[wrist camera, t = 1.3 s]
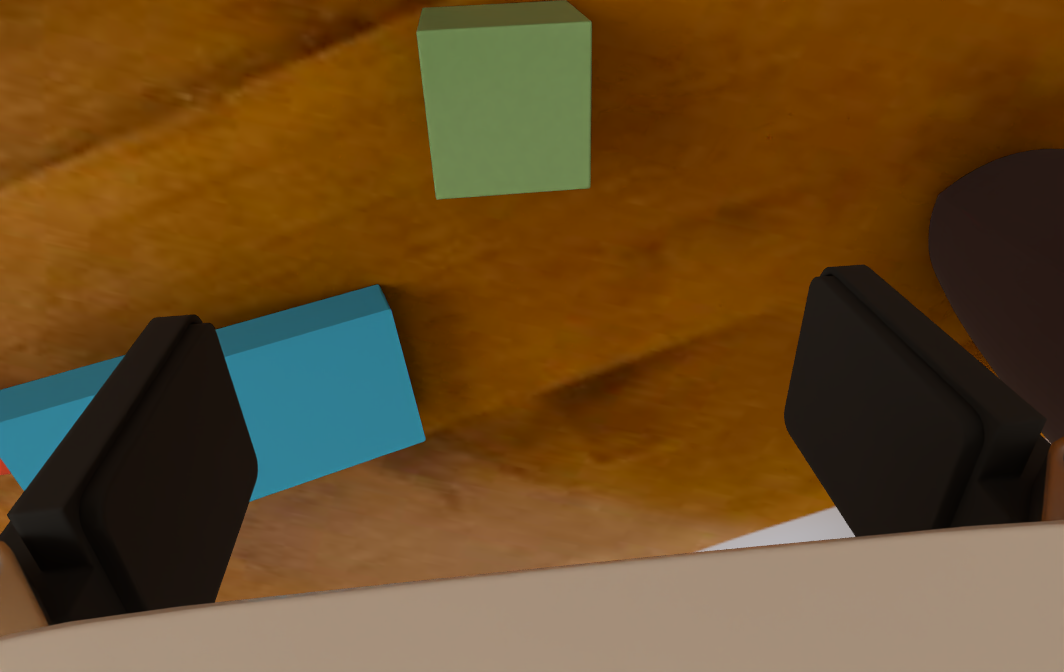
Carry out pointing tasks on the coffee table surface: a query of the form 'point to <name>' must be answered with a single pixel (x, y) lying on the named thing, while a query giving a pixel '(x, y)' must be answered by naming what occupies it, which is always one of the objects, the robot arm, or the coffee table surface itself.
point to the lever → (263, 393)
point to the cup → (1009, 271)
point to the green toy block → (507, 97)
